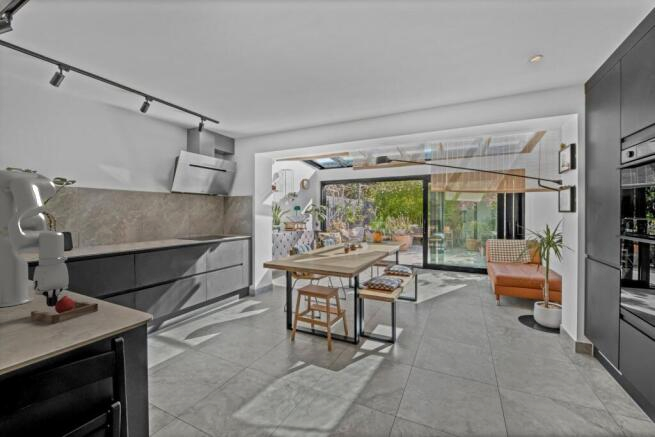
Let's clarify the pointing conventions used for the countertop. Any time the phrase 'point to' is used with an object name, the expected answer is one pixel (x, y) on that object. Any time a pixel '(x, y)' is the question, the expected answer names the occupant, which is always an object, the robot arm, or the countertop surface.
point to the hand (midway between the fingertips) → (52, 305)
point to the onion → (64, 305)
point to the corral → (65, 313)
